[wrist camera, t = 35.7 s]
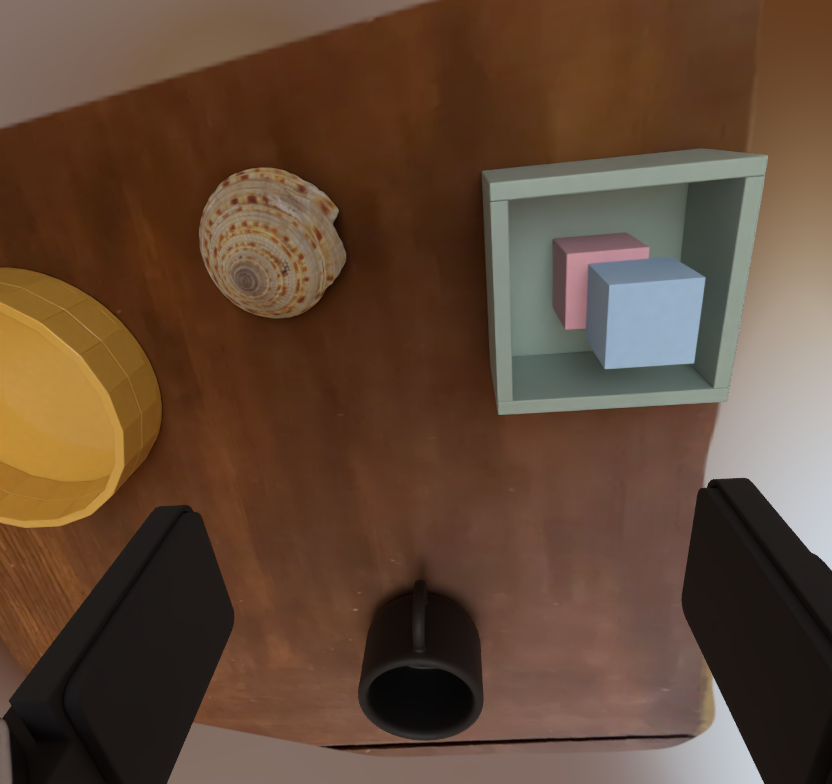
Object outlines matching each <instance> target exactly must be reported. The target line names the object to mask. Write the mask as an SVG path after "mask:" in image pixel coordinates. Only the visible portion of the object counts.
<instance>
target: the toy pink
mask: <svg viewBox="0 0 832 784" xmlns="http://www.w3.org/2000/svg"><path fill="white" fill-rule="evenodd" d="M649 251H650V247H649V246H647V245H645V244H644V243H642V242H641V241H639V240H638V239H636V238H634V237H633V236H631V235H630V234H628V233H626V232H623V233H612V234H601V235H590V236H578V237H567V238H556V239H553V304H552V307H553V309H554V310H555V312H556V314H557V316H558V318H559V319H560V321H561V323H562V325H563V327H564V328H565V330H571V329H585V328H586V314H587V288H588V264H590V263H602V262H614V261H626V260H638V259H649Z"/></svg>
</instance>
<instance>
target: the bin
mask: <svg viewBox="0 0 832 784" xmlns="http://www.w3.org/2000/svg"><path fill="white" fill-rule="evenodd" d="M767 161H768V156H767V155H760V154H751V153H742V152H732V151H723V150H713V149H704V148H701V149H691V150H682V151H672V152H662V153H652V154H642V155H632V156H623V157H613V158H603V159H593V160H583V161H574V162H564V163H554V164H544V165H534V166H524V167H515V168H505V169H495V170H485V171H482V193H483V215H484V238H485V261H486V284H487V307H488V330H489V353H490V368H491V374H492V380H493V386H494V392H495V399H496V405H497V411H498V415H508V414H525V413H542V412H558V411H575V410H592V409H608V408H625V407H642V406H659V405H675V404H692V403H709V402H726V401H727V400H728V399H727V398H728V394H729V387H730V382H731V376H732V370H733V364H734V359H735V353H736V347H737V340H738V335H739V329H740V323H741V317H742V311H743V305H744V299H745V293H746V287H747V281H748V275H749V269H750V263H751V258H752V252H753V246H754V240H755V233H756V228H757V221H758V215H759V210H760V204H761V198H762V192H763V186H764V180H765V176H763V175H765V173H766V167H767ZM623 232H626V233H628V234H630V235H631V236H633V237H634V238H636V239H638V240H639V241H641V242H642V243H644V244H645V245H647V246H649V247H650V251H649V259H650V258H661V257H673V258H675V259H676V260H678V261H679V262H681V263H683V264H684V265H686V266H688V267H689V268H691V269H693V270H694V271H696V272H697V273H699V274H701V275H702V276H704V277H705V286H704V293H703V301H702V308H701V316H700V323H699V331H698V338H697V345H696V353H695V360H694V363H692V364H677V365H662V366H647V367H632V368H617V369H604V367H603V366H602V364H601V363H600V361H599V359H598V358H597V356H596V355H595V353H594V351H593V350H592V348H591V347H590V345H589V343H588V342H587V340H586V328H585V329H571V330H565V328H564V327H563V325H562V323H561V321H560V319H559V318H558V316H557V314H556V312H555V310H554V309H553V307H552V304H553V239H556V238H567V237H578V236H590V235H601V234H612V233H623Z"/></svg>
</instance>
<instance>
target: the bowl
mask: <svg viewBox="0 0 832 784" xmlns="http://www.w3.org/2000/svg"><path fill="white" fill-rule="evenodd" d="M161 420H162V402H161V394H160V389H159V386H158V382H157V378H156V376H155V373H154V371H153V368H152V366H151V363H150V361H149V360H148V358H147V356H146V354H145V352H144V351H143V349H142V347H141V346H140V345H139V343H138V342H137V340H136V339H135V338H134V336H133V335H132V334H131V332H130V331H129V330H128V329H127V328H126V327H125V326H124V324H123V323H122V322H121V321H120V320H119V319H118V318H117V317H116V316H114V315H113V314H112V313H111V312H110V311H109V310H108V309H107V308H106V307H104V306H103V305H102V304H100V303H99V302H98V301H96V300H95V299H94V298H92V297H91V296H89V295H87V294H86V293H84V292H83V291H81V290H79V289H78V288H76V287H74V286H72V285H70V284H68V283H66V282H64V281H61V280H59V279H56V278H54V277H51V276H48V275H45V274H42V273H38V272H34V271H30V270H25V269H17V268H8V267H7V268H0V523H3V524H8V525H13V526H18V527H23V528H24V527H25V528H32V527H55V526H63V525H65V524H68V523H71V522H73V521H76V520H79V519H82V518H84V517H87V516H90V515H92V514H93V513H94V512H95V511H96V510H97V509H98V508H99V507H101V506H102V505H103V504H104V503H105V502H106V501H107V500H108V499H109V498H110V497H111V496H112V495H113V494H114V493H115V492H116V491H117V490H118V489H119V488H120V487H121V486H122V484H123V483H124V482H125V481H126V480H127V479H128V478H129V477H130V476H131V474H132V473H133V472H134V471H135V470H136V469H137V468H138V467H139V466H140V465H141V463H142V462H143V461H144V460H145V459H146V458H147V456H148V454H149V452H150V451H151V449H152V447H153V446H154V444H155V442H156V439H157V436H158V434H159V430H160V425H161Z"/></svg>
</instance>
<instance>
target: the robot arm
mask: <svg viewBox="0 0 832 784" xmlns="http://www.w3.org/2000/svg"><path fill="white" fill-rule="evenodd" d="M682 607H683V612H684V615H685V618H686V620H687V622H688V624H689V626H690V628H691V630H692V633H693V635H694V637H695V639H696V641H697V643H698V645H699V647H700V649H701V651H702V654H703V656H704V658H705V660H706V662H707V664H708V666H709V668H710V670H711V672H712V675H713V677H714V679H715V681H716V683H717V685H718V687H719V689H720V691H721V694H722V696H723V698H724V700H725V702H726V704H727V706H728V708H729V710H730V712H731V715H732V717H733V719H734V721H735V723H736V725H737V727H738V729H739V731H740V733H741V736H742V738H743V740H744V742H745V744H746V746H747V748H748V750H749V752H750V754H751V757H752V759H753V761H754V763H755V765H756V767H757V769H758V771H759V773H760V775H761V778H762V780H763V782H764V784H832V571H831V570H830V568H829V567H828V566H827V565H826V564H825V562H823V561H822V560H821V559H820V558H819V557H818V556H817V555H815V554H813V553H811V552H810V551H809V550H808V548H807V547H806V546H805V545H804V544H803V543H802V541H801V540H800V539H799V538H798V536H797V535H796V534H795V533H794V532H793V531H792V529H791V528H790V527H789V526H788V525H787V524H786V522H785V521H784V520H783V519H782V517H781V516H780V515H779V514H778V513H777V511H776V510H775V509H774V508H773V507H772V505H771V504H770V503H769V502H768V501H767V499H766V498H765V497H764V496H763V495H762V494H761V493H760V491H759V490H758V489H757V488H756V486H755V485H754V484H753V483H752V482H751V481H750V480H749V479H747V478H732V479H713V480H711V481H710V482H709V483H708V486H707V488H701V489H700V490H699V491H698V495H697V501H696V507H695V514H694V520H693V527H692V533H691V540H690V546H689V553H688V559H687V566H686V572H685V579H684V585H683V591H682ZM233 624H234V610H233V607H232V604H231V601H230V598H229V595H228V592H227V589H226V586H225V583H224V581H223V578H222V575H221V572H220V569H219V566H218V563H217V560H216V557H215V554H214V551H213V548H212V546H211V543H210V540H209V537H208V534H207V531H206V528H205V525H204V522H203V519H202V517H201V515H200V514H199V513H197V512H193V510H192V508H191V507H190V506H187V505H179V506H160V507H157V508H155V509H154V510H153V511H152V513H151V514H150V515H149V516H148V518H147V519H146V520H145V522H144V523H143V524H142V526H141V527H140V528H139V530H138V531H137V532H136V534H135V535H134V536H133V538H132V539H131V540H130V542H129V543H128V544H127V545H126V547H125V548H124V549H123V551H122V552H121V553H120V555H119V556H118V557H117V559H116V560H115V561H114V563H113V564H112V565H111V567H110V568H109V569H108V571H107V572H106V573H105V574H104V576H103V577H102V578H101V580H100V581H99V582H98V584H97V585H96V586H95V588H94V589H93V590H92V592H91V593H90V594H89V596H88V597H87V598H86V599H85V601H84V602H83V603H82V605H81V606H80V607H79V609H78V610H77V611H76V613H75V614H74V615H73V617H72V618H71V619H70V621H69V622H68V623H67V625H66V626H65V627H64V628H63V630H62V631H61V632H60V634H59V635H58V636H57V638H56V639H55V640H54V642H53V643H52V644H51V646H50V647H49V648H48V650H47V651H46V652H45V654H44V655H43V656H42V657H41V659H40V660H39V661H38V663H37V664H36V665H35V667H34V668H33V669H32V671H31V672H30V673H29V675H28V676H27V677H26V679H25V680H24V681H23V683H22V684H21V685H20V687H19V688H18V689H17V690H16V692H15V693H14V695H13V696H12V697H11V698H10V700H9V702H10V703H11V705H12V706H11V707H10V709H9V710H8V712H7V713H6V714H5V715H4V717H3V718H0V784H167V782H168V779H169V777H170V775H171V772H172V770H173V768H174V765H175V763H176V760H177V758H178V756H179V753H180V751H181V749H182V746H183V744H184V741H185V739H186V737H187V735H188V732H189V730H190V728H191V725H192V723H193V721H194V718H195V716H196V714H197V711H198V709H199V707H200V704H201V702H202V699H203V697H204V695H205V692H206V690H207V688H208V685H209V683H210V681H211V678H212V676H213V674H214V671H215V669H216V667H217V664H218V662H219V660H220V657H221V655H222V653H223V650H224V648H225V645H226V643H227V641H228V638H229V636H230V634H231V631H232V628H233Z"/></svg>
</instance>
